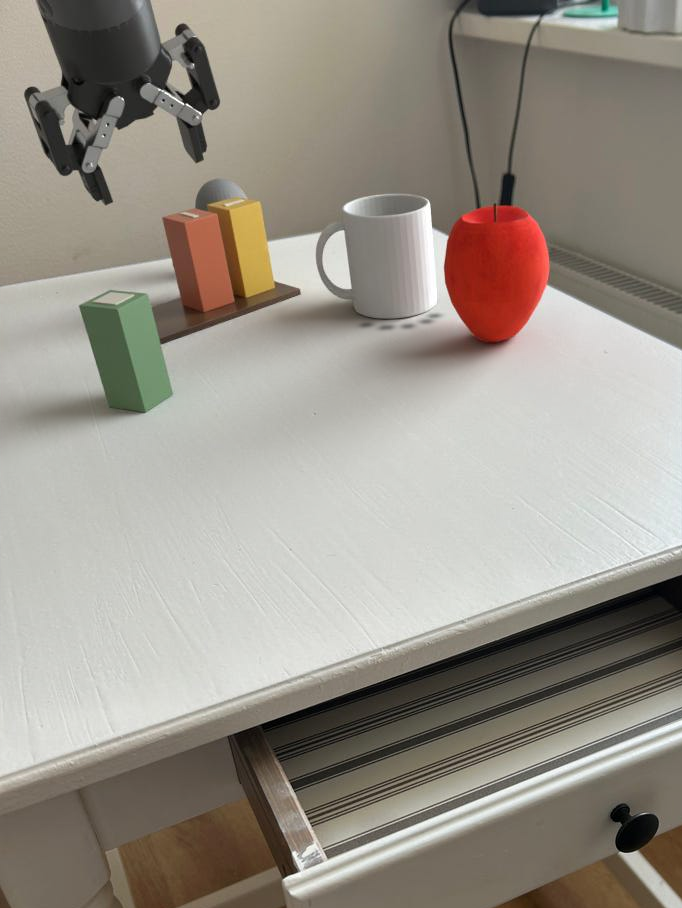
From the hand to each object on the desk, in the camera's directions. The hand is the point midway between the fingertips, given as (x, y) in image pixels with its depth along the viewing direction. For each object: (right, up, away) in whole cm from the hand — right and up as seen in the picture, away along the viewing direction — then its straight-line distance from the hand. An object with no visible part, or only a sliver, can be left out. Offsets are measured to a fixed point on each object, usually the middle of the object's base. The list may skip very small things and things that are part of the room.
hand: (149, 176), depth 82 cm
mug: (+18, -4, +22) cm, 28 cm away
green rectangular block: (-2, -18, +5) cm, 18 cm away
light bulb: (-1, +5, +34) cm, 34 cm away
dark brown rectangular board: (-2, -4, +22) cm, 23 cm away
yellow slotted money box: (+2, 0, +26) cm, 26 cm away
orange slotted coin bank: (-1, -3, +23) cm, 23 cm away
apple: (+30, -10, +13) cm, 34 cm away
